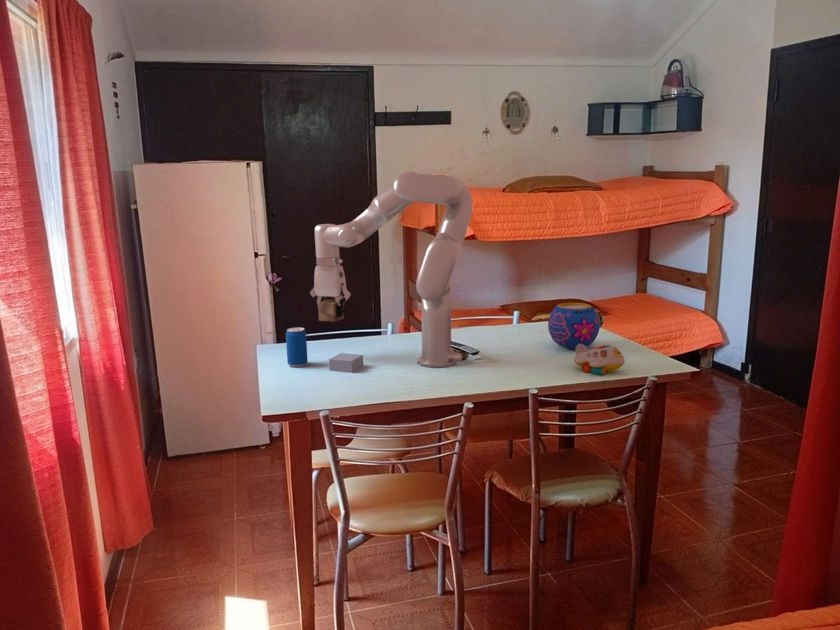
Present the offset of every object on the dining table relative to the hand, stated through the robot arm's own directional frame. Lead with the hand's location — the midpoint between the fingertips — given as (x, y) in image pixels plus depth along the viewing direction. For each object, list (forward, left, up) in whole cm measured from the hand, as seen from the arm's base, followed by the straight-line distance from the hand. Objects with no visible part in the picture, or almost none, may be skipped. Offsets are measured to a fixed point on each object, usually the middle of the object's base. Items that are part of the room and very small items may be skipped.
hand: (331, 315), depth 222 cm
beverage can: (+7, +10, -15) cm, 20 cm away
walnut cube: (0, 0, -1) cm, 1 cm away
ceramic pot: (-70, -46, -15) cm, 85 cm away
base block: (-10, +7, -15) cm, 19 cm away
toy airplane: (-84, -21, -15) cm, 88 cm away
